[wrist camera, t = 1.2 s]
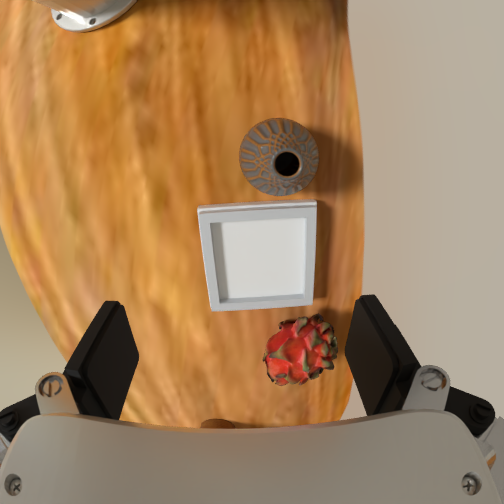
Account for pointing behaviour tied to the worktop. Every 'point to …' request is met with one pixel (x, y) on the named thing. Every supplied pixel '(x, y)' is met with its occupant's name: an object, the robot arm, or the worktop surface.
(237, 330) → the worktop surface
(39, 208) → the worktop surface
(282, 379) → the dragon fruit
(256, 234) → the baseplate
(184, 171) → the worktop surface
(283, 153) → the vase
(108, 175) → the worktop surface
